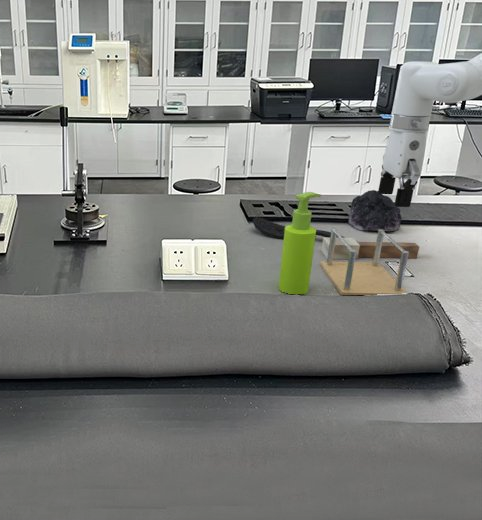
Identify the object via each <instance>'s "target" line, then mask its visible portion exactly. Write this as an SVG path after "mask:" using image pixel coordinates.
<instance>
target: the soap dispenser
mask: <svg viewBox="0 0 482 520" xmlns="http://www.w3.org/2000/svg"><path fill="white" fill-rule="evenodd" d="M321 196H322V194H320V193H316V192H313V191H306V192H305V191H304V192H302V193H299V194H297V195H295V199H296V200H299V201H298V207H297V208H296V209H294V210H293V211H292V222H291V224H290V225H289V224H286V225H285V226H286V227H285V232H284V239H283V242H282V250H281V259H280V268H279V269H280V270H279V277H278V278H279V279H278V286H277V287H278V290H279V291H280V292H281V291H282V293H283V292H286V293H288V294H287V295H289V294H304V295H306V294H308V292H309V287H310V279H311V273H312V272H311V271H312V265H313V257H314V251H315V242H316V236H317V235H316V230H317V229H316V228H315V227H313V226H312V225H311V223H312V222H311V220H312V213H313V212H312V211H311V210H310V209H308V207H309V201H310V199H314V198H321ZM286 293H285V294H286Z"/></svg>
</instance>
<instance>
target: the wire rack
mask: <svg viewBox="0 0 482 520" xmlns="http://www.w3.org/2000/svg"><path fill="white" fill-rule="evenodd" d="M330 232H331V237H330V244H329V251H328V257H327V258H326V261H325V260H324V261H320V264H319V265H320V267H321V268H322V269H323V271H324V273H325V275H327V277H328V278H329V280H330V282H331V283H332V284H333V286H334V287H335V289H336V290H337V291H338V293H339V295H340V294H341V295H377V294H402V293H408V292H407V290H406V289H404V287H403V282H404V278H405V272H406V268H407V265H408V264H407V263H408V259H409V258H408V254H409V252H408V251H405V250H404V249H403V248H402V247H400V246H399V245H398V244H397V243H396V241H395V240H394V239H393V238H392V237H390V235H388V233H386V231H384V230H383V229H379V230H378V231H377V235H376V241H375V242H376V246H375V252H374V257H372V262H371V261H370V262H369V261H356V259H355V257H356V250H353V249H352V248H351V247H350V246H349V244H348V243H347V242H346V241H345V240H344V239H343V238H342V236H343V235H341V234H340V233H339V232H338V228H331V231H330ZM336 236H338V238H339V239H340V240H341V241H342V242H343V243H344V245H345V246H346V247H347V248H348V249H349V250H350V253H349V259H347V261H334V259H333V256H334V249H335V243H336ZM384 237H385V238H386V239H387V240H388V242H391V243H392V244H394V245H395V246H396V247H397V248H398V249H399V250H400V251H401V252H402V254H401V258H399V259H400V260H399V264H398V270H397V273H396V279H395V278H394V276H393V275H391V273H389V271H388V270H387V269H386V268H385V267H384V266H383V265H382V264H381V262H379V261H380V258H379V257H380V252H381V247H382V242H384ZM341 295H340V296H341Z"/></svg>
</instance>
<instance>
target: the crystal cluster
mask: <svg viewBox="0 0 482 520" xmlns="http://www.w3.org/2000/svg"><path fill="white" fill-rule="evenodd" d="M394 204H395V201H393V199H392V198H391V197H390V196H388V195H385V194H379V193H378V190H375V189H371V190H368V191H364V192H363V194H361V195H357V196H355V197H354V198H353V199H352V201H351V205H350V209H349V217H348V218H349V219H348V224H350V225H351V226H352V227H353V228H355V229H357V230H358V231H367V232H368V231H375V232H378V230H379V229H383V230H384V232H393V231H394V232H395V231H397V230H399V229H400V228H401V223H402V219H403V218H402V215H401V207H396V206H395V205H394Z"/></svg>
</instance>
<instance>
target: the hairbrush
mask: <svg viewBox="0 0 482 520" xmlns="http://www.w3.org/2000/svg"><path fill="white" fill-rule="evenodd" d="M257 216H258V217H257ZM257 216H254V217H253V219H252V224H253V225H254V228H255V229H257V230H258V231H259V232H261V233H262V234H264V236H265V235H266V236H268V237H272V238H275V239H277V240H284V232H285V227H286V226H287V225H291V224H290V223H289V224H287V222H286V224H285V223H283V224H280V223H279V221H276V222H274V219H273V218H272V219H271V220H270V218H268V219H265V216H264V215H263V216H262V217H260V214H258V215H257ZM316 236H317V237H322V238H323V237H331V231H327V230H322V229H316ZM341 236H342V238H346V237H345V236H343V235H341ZM336 238H338V236H336Z"/></svg>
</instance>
